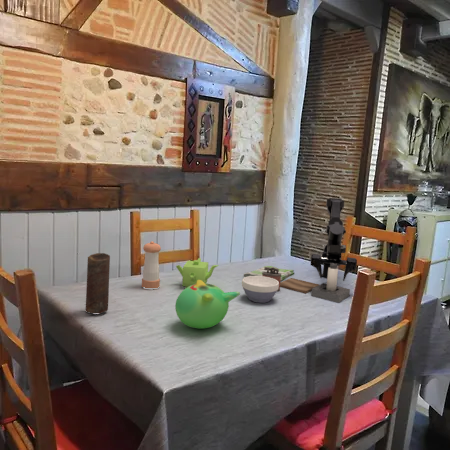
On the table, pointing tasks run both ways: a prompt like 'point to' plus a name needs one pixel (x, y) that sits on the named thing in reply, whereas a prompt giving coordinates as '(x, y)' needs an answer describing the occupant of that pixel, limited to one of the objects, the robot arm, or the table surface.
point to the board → (298, 285)
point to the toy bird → (203, 305)
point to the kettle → (195, 272)
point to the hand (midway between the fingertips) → (332, 279)
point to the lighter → (272, 274)
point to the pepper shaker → (151, 266)
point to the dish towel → (258, 272)
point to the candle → (97, 283)
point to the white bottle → (332, 277)
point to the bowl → (260, 288)
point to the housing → (330, 293)
